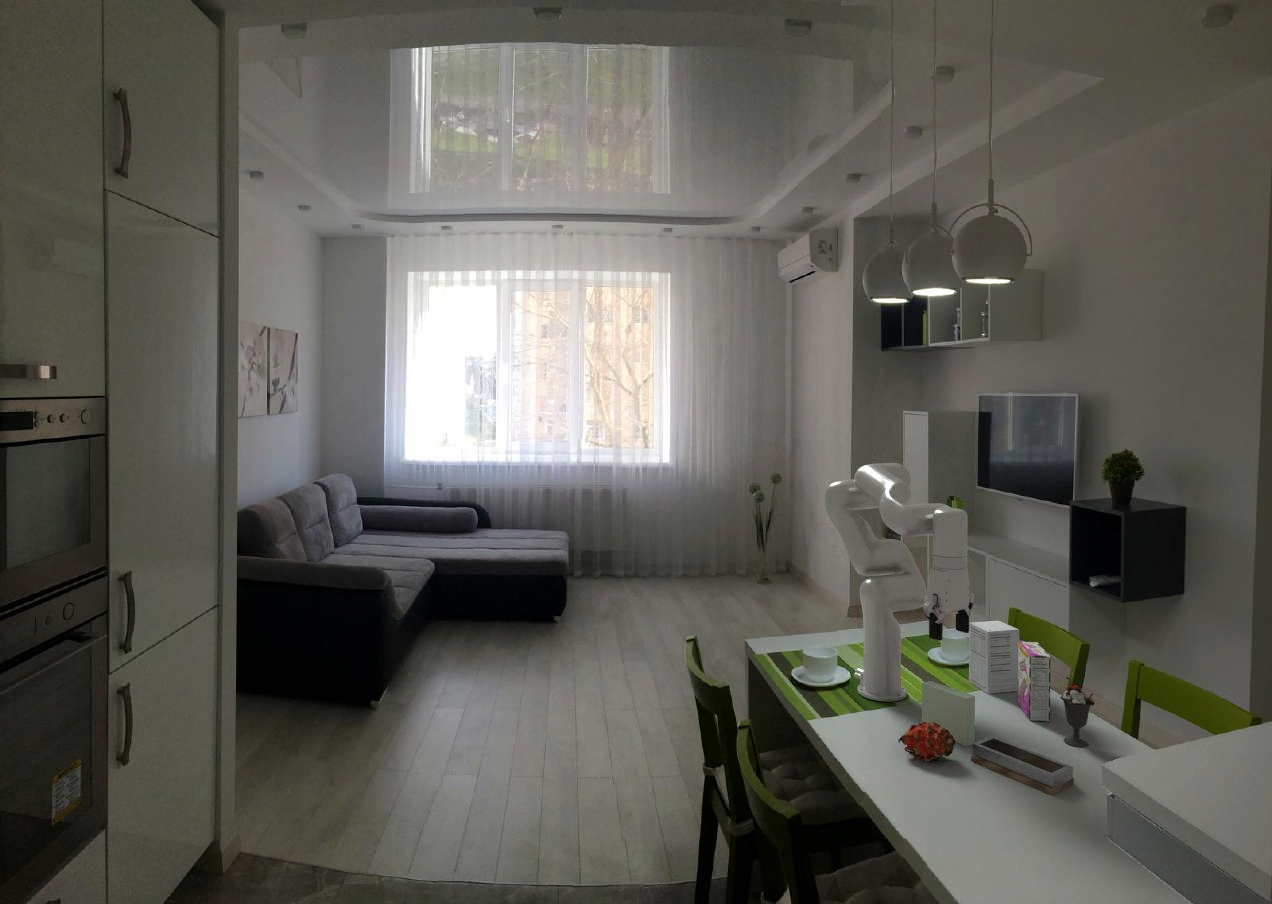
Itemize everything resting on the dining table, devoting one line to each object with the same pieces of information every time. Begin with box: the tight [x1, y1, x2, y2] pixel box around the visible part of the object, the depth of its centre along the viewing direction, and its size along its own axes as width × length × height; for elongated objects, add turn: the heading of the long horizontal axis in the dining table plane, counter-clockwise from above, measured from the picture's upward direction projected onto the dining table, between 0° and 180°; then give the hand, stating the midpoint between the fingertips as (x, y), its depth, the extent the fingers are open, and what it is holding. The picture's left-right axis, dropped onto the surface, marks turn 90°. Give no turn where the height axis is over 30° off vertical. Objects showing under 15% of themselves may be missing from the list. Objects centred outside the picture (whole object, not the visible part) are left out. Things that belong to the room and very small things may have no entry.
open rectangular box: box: [970, 735, 1075, 796], centre depth 169 cm, size 18×8×4 cm, turn 33°
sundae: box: [1060, 676, 1095, 748], centre depth 181 cm, size 7×7×15 cm
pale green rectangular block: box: [921, 680, 976, 747], centre depth 187 cm, size 12×3×11 cm, turn 33°
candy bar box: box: [1017, 641, 1052, 723], centre depth 198 cm, size 11×5×16 cm, turn 168°
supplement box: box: [968, 620, 1020, 694], centre depth 216 cm, size 10×9×17 cm
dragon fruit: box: [897, 721, 957, 762], centre depth 176 cm, size 8×8×12 cm
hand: (949, 635), depth 185 cm, fingers open, 9 cm apart
